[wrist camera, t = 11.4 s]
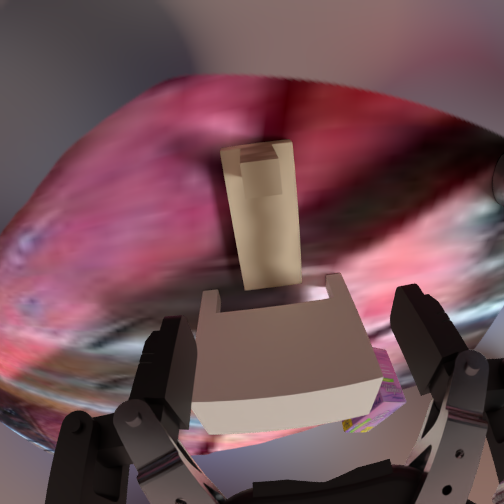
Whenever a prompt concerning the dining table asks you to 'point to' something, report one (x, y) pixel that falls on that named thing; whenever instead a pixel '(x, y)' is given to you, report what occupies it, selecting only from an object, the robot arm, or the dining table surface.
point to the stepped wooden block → (264, 212)
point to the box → (379, 398)
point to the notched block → (283, 364)
